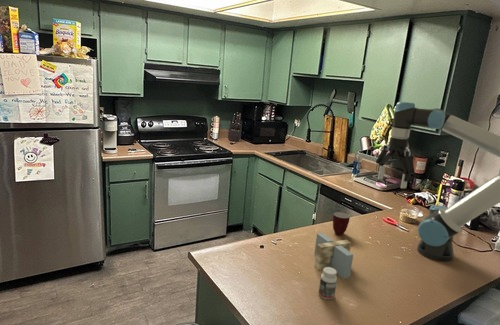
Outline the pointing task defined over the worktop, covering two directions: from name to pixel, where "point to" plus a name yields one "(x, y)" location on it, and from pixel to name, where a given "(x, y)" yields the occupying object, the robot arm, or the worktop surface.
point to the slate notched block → (337, 257)
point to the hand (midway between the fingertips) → (391, 183)
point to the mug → (340, 222)
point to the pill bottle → (328, 283)
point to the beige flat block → (328, 252)
